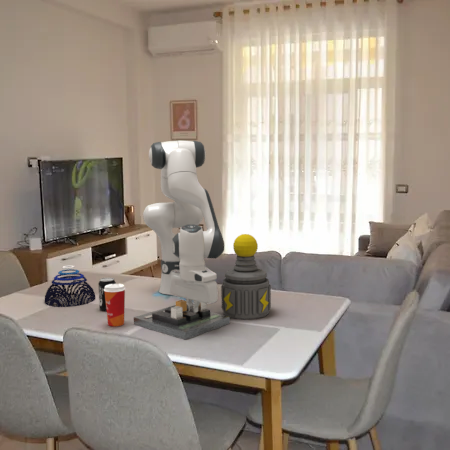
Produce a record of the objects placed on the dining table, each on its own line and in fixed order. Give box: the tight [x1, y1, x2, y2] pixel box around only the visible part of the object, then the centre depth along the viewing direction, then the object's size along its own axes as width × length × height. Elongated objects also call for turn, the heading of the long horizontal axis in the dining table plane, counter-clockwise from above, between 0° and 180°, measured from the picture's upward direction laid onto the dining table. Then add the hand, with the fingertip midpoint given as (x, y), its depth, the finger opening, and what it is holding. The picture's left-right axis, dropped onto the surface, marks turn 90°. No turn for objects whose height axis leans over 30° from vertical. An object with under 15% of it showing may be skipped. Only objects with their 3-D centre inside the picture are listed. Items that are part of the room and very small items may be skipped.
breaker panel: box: [133, 302, 231, 340], centre depth 198 cm, size 22×26×8 cm
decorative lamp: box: [220, 233, 272, 320], centre depth 209 cm, size 19×19×30 cm
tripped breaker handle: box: [175, 299, 187, 312], centre depth 198 cm, size 3×2×4 cm
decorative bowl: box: [44, 265, 96, 308], centre depth 232 cm, size 20×20×14 cm
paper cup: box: [104, 283, 126, 328], centre depth 199 cm, size 8×8×14 cm
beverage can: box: [98, 277, 117, 312], centre depth 218 cm, size 7×7×12 cm
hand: (193, 311), depth 194 cm, fingers closed
